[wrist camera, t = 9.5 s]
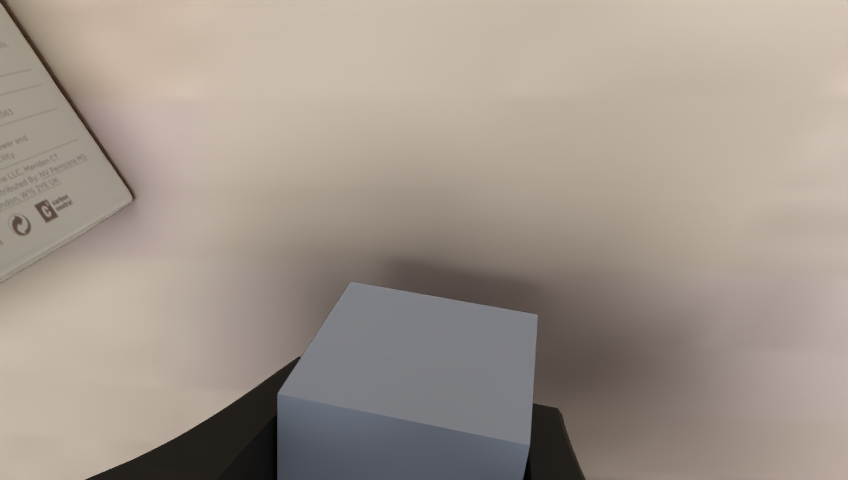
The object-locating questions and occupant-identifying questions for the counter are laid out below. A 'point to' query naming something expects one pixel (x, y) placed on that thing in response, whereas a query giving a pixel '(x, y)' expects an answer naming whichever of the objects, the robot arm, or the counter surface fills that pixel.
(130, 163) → the counter surface
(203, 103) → the counter surface
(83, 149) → the small box
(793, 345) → the counter surface
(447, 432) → the block
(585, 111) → the counter surface
